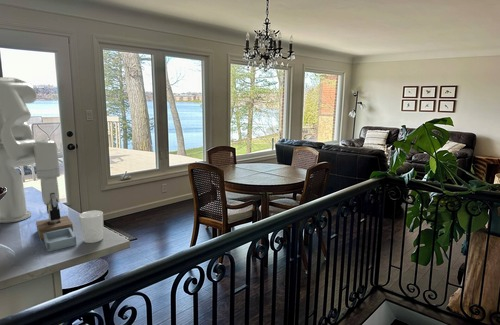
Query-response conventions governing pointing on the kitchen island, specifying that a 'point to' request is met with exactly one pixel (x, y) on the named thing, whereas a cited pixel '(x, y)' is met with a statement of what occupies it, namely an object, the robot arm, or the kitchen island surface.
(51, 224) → the pin
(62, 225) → the socket block
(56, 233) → the tray
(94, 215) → the white cup
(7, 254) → the kitchen island surface
